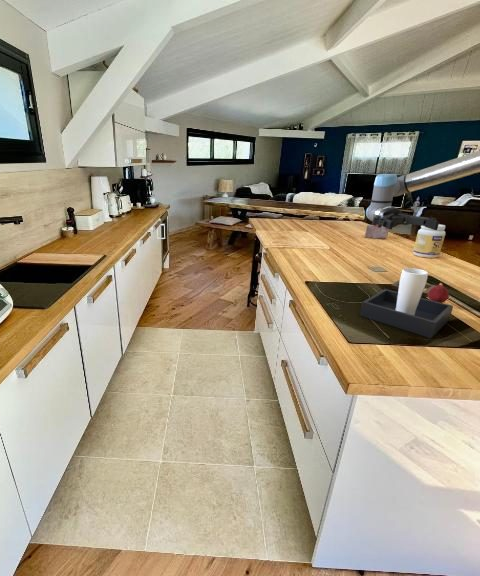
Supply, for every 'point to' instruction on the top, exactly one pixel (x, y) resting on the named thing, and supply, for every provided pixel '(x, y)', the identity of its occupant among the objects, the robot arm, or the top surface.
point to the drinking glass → (410, 289)
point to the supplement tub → (429, 242)
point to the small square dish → (425, 293)
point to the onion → (438, 293)
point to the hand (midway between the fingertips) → (414, 225)
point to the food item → (376, 232)
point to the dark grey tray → (424, 321)
